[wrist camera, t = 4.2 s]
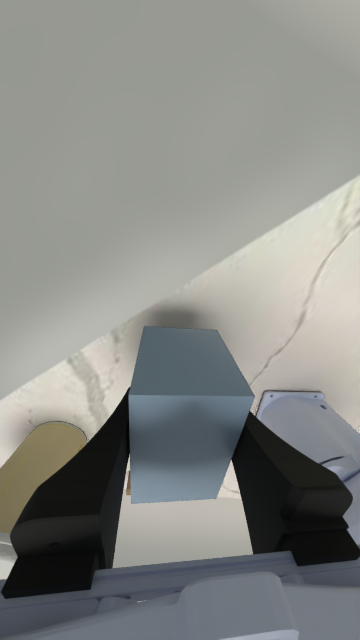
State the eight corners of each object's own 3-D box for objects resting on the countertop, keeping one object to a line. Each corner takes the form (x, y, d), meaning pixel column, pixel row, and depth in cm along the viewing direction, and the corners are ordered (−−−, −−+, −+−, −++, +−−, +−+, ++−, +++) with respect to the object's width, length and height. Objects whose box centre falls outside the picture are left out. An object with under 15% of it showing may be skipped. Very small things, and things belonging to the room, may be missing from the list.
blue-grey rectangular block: (217, 330, 14) (254, 396, 8) (199, 413, 18) (216, 498, 12) (144, 326, 14) (128, 394, 8) (142, 414, 18) (131, 503, 12)
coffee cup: (80, 468, 28) (25, 609, 17) (16, 453, 26) (-97, 603, 15) (102, 428, 26) (54, 563, 14) (34, 407, 24) (-86, 547, 12)
